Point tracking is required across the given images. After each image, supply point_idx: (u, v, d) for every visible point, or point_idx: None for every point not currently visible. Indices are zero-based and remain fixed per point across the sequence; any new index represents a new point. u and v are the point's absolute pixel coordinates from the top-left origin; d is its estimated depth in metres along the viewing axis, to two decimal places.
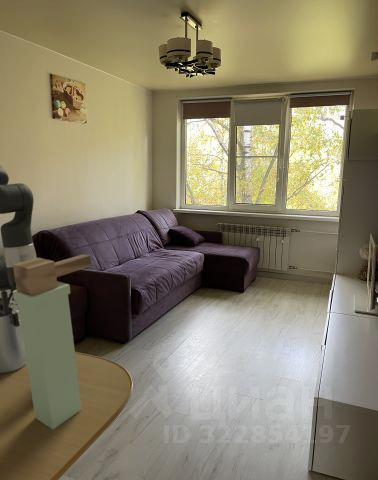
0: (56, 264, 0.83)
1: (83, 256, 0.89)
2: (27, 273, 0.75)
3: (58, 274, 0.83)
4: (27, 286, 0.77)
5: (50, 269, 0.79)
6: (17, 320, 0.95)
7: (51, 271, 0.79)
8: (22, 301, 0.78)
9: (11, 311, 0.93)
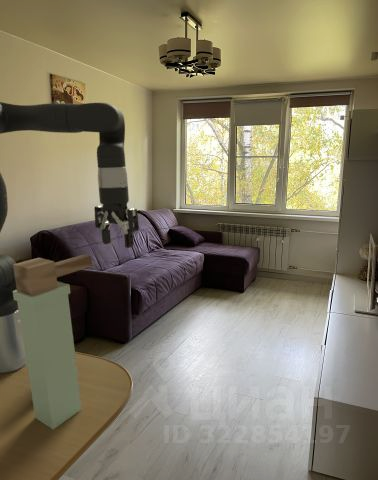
0: (56, 264, 0.83)
1: (84, 256, 0.89)
2: (27, 273, 0.75)
3: (59, 274, 0.83)
4: (27, 286, 0.77)
5: (50, 269, 0.79)
6: None
7: (51, 271, 0.79)
8: (22, 301, 0.78)
9: None
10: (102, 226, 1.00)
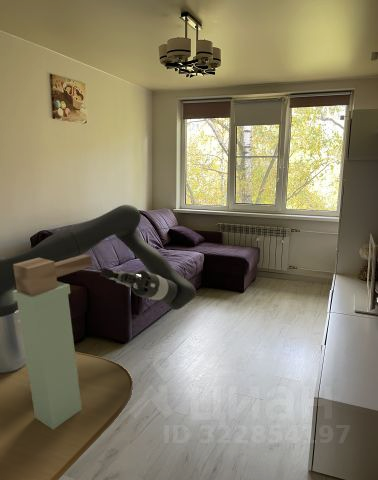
0: (56, 264, 0.83)
1: (84, 256, 0.89)
2: (27, 273, 0.75)
3: (59, 274, 0.83)
4: (27, 286, 0.77)
5: (50, 269, 0.79)
6: (127, 282, 0.96)
7: (51, 271, 0.79)
8: (22, 301, 0.78)
9: (137, 284, 0.98)
10: None
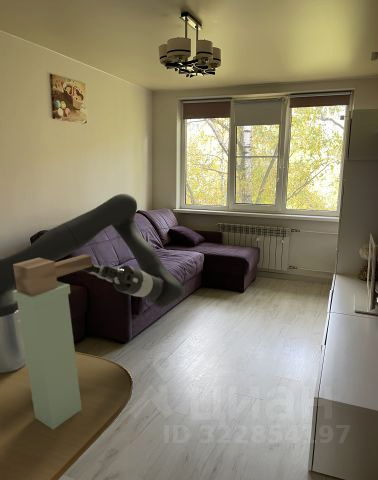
0: (56, 264, 0.83)
1: (84, 256, 0.89)
2: (27, 273, 0.75)
3: (59, 274, 0.83)
4: (27, 286, 0.77)
5: (50, 269, 0.79)
6: (107, 275, 0.91)
7: (51, 271, 0.79)
8: (22, 301, 0.78)
9: (118, 278, 0.93)
10: None
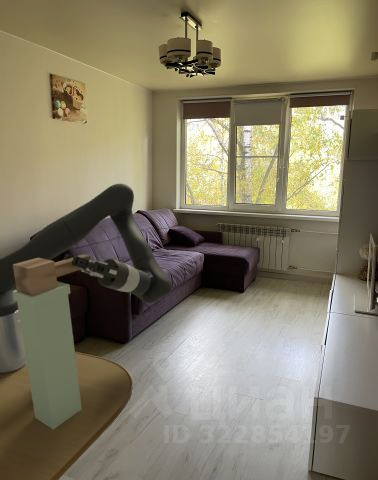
0: (56, 264, 0.83)
1: (83, 256, 0.89)
2: (27, 273, 0.75)
3: (58, 274, 0.83)
4: (27, 286, 0.77)
5: (50, 269, 0.79)
6: (77, 266, 0.87)
7: (51, 271, 0.79)
8: (22, 301, 0.78)
9: (89, 269, 0.88)
10: None
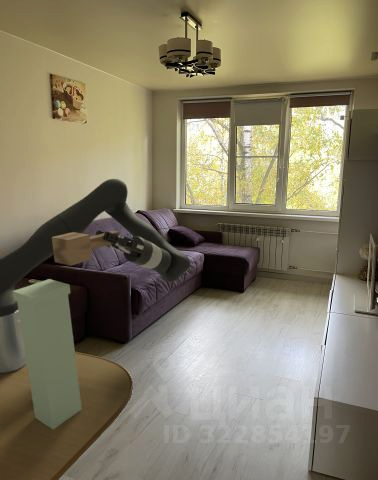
0: None
1: (112, 232, 0.96)
2: (66, 244, 0.82)
3: (92, 247, 0.90)
4: (66, 256, 0.83)
5: (86, 241, 0.86)
6: (108, 241, 0.93)
7: (86, 243, 0.86)
8: (22, 301, 0.78)
9: (119, 244, 0.95)
10: None
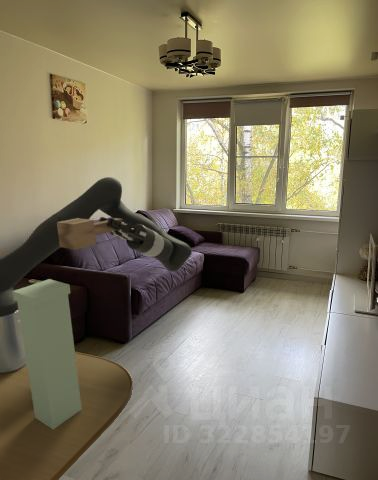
0: (93, 224, 0.92)
1: (116, 219, 0.98)
2: (71, 228, 0.84)
3: (96, 233, 0.92)
4: (71, 240, 0.85)
5: (90, 227, 0.88)
6: (112, 227, 0.95)
7: (91, 228, 0.88)
8: (22, 301, 0.78)
9: (122, 231, 0.97)
10: None
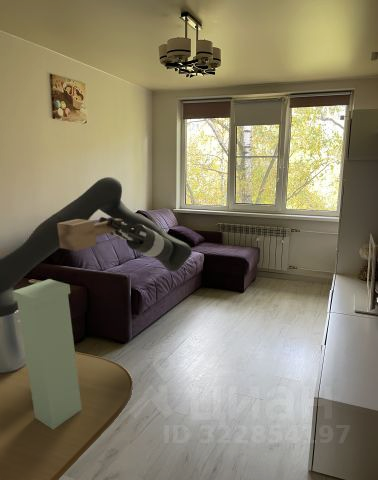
0: (93, 224, 0.92)
1: (116, 219, 0.98)
2: (72, 229, 0.84)
3: (96, 234, 0.92)
4: (71, 241, 0.85)
5: (90, 227, 0.88)
6: (112, 227, 0.95)
7: (91, 229, 0.88)
8: (22, 301, 0.78)
9: (122, 231, 0.97)
10: None
